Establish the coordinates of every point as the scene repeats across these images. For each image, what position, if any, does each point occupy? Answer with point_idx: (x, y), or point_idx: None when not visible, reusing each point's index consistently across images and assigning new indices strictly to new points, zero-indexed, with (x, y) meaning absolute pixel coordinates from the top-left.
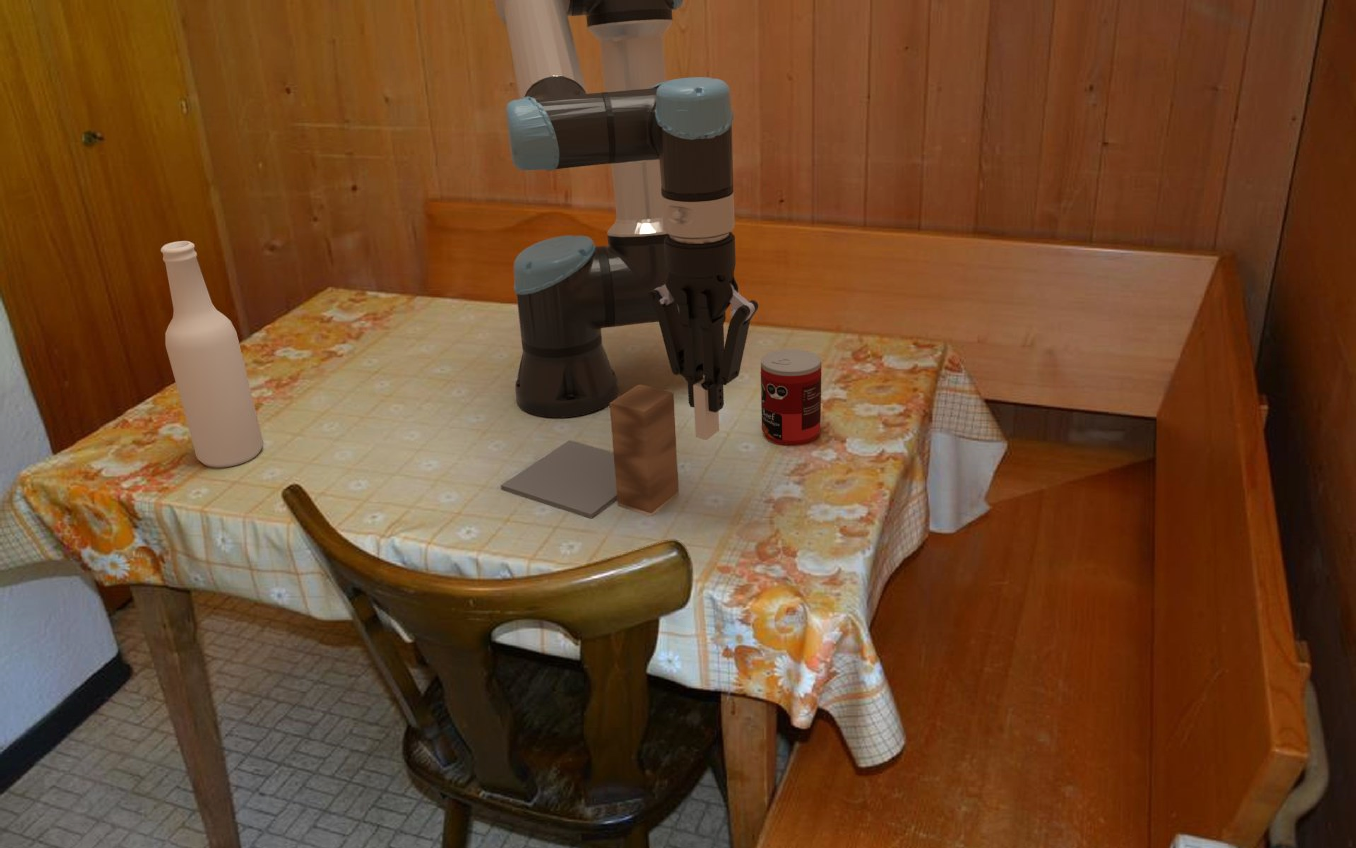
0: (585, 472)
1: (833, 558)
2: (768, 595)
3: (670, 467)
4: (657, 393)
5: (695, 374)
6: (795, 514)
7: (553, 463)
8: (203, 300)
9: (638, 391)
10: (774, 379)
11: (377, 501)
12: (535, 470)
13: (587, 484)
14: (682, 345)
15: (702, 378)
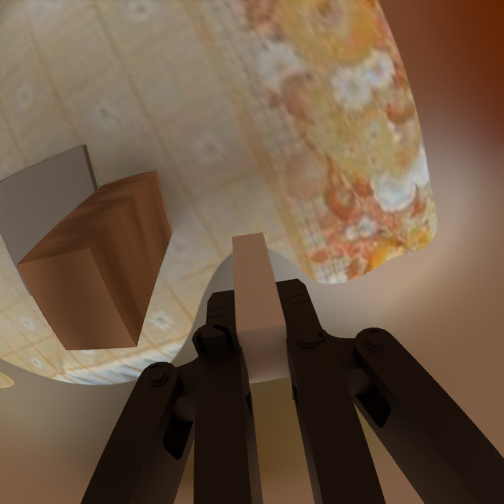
0: (45, 225)
1: (405, 172)
2: (377, 261)
3: (147, 203)
4: (74, 275)
5: (251, 401)
6: (325, 111)
7: (14, 235)
8: None
9: (45, 290)
10: None
11: (17, 349)
12: (19, 257)
13: None
14: (160, 461)
15: (242, 351)
